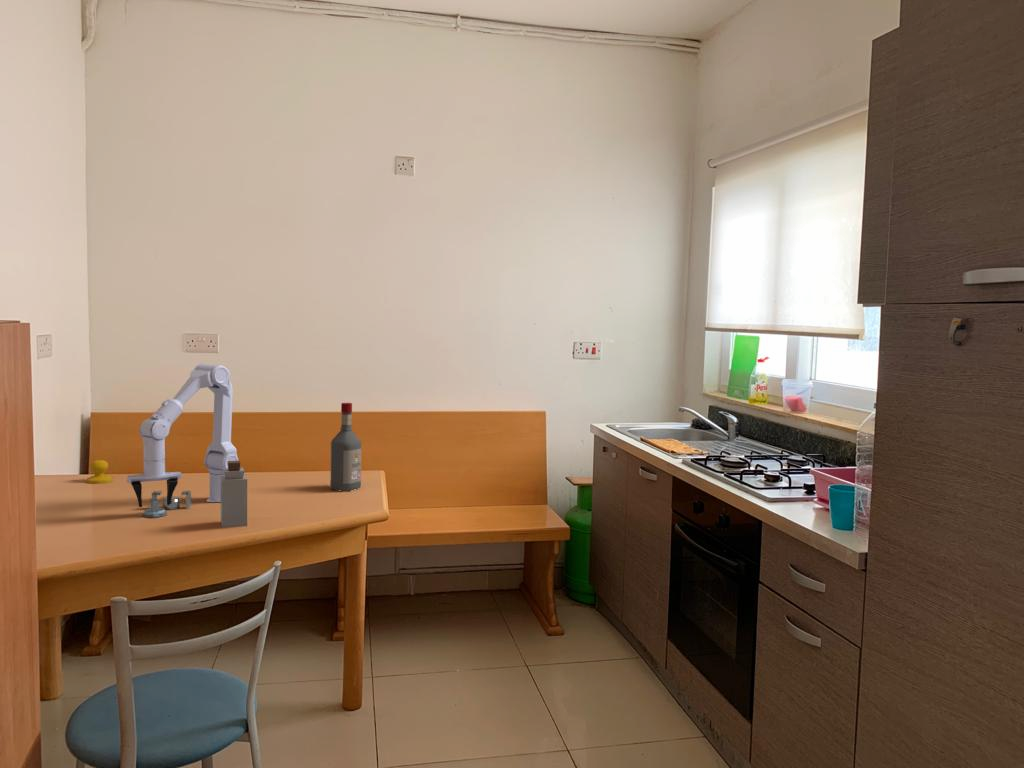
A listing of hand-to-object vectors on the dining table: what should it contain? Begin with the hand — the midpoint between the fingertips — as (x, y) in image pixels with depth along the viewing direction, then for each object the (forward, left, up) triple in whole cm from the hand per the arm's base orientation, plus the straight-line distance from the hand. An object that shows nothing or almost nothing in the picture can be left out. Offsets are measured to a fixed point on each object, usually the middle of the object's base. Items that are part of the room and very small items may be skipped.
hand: (154, 505), depth 233 cm
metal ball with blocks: (-3, -8, -3) cm, 9 cm away
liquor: (-55, -32, -3) cm, 64 cm away
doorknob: (+29, -49, -3) cm, 57 cm away
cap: (0, 0, -3) cm, 3 cm away
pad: (0, 0, -3) cm, 3 cm away
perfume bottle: (-24, +12, -3) cm, 27 cm away
